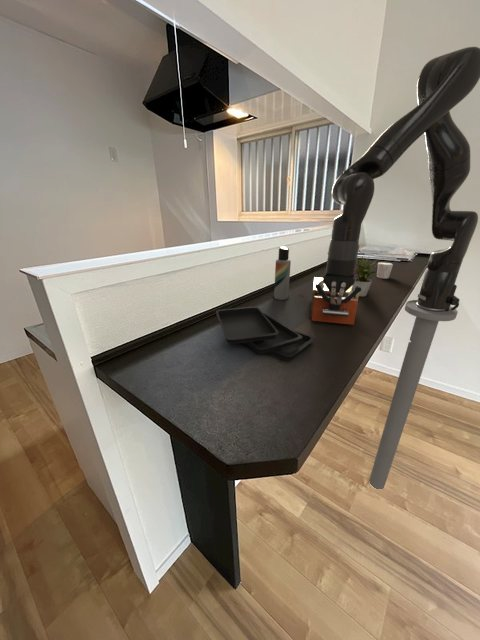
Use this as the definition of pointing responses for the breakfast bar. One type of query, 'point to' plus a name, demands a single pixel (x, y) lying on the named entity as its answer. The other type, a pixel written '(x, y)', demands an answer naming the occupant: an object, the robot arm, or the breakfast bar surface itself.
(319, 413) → the breakfast bar surface
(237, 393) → the breakfast bar surface
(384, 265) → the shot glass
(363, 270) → the house plant
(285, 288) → the lotion bottle
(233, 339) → the tray
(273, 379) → the breakfast bar surface
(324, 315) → the wooden drawer unit
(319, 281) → the small drawer box
